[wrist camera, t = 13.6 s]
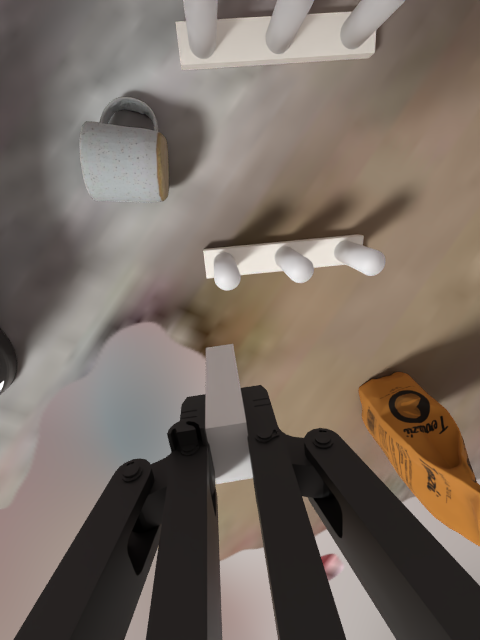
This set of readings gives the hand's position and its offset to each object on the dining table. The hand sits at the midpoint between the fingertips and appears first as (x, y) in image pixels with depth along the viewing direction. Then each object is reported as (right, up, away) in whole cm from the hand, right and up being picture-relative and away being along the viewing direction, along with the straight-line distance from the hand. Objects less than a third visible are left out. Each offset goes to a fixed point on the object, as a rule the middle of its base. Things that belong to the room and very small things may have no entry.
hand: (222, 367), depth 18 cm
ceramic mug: (-12, +22, +20) cm, 32 cm away
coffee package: (+26, -11, +36) cm, 46 cm away
